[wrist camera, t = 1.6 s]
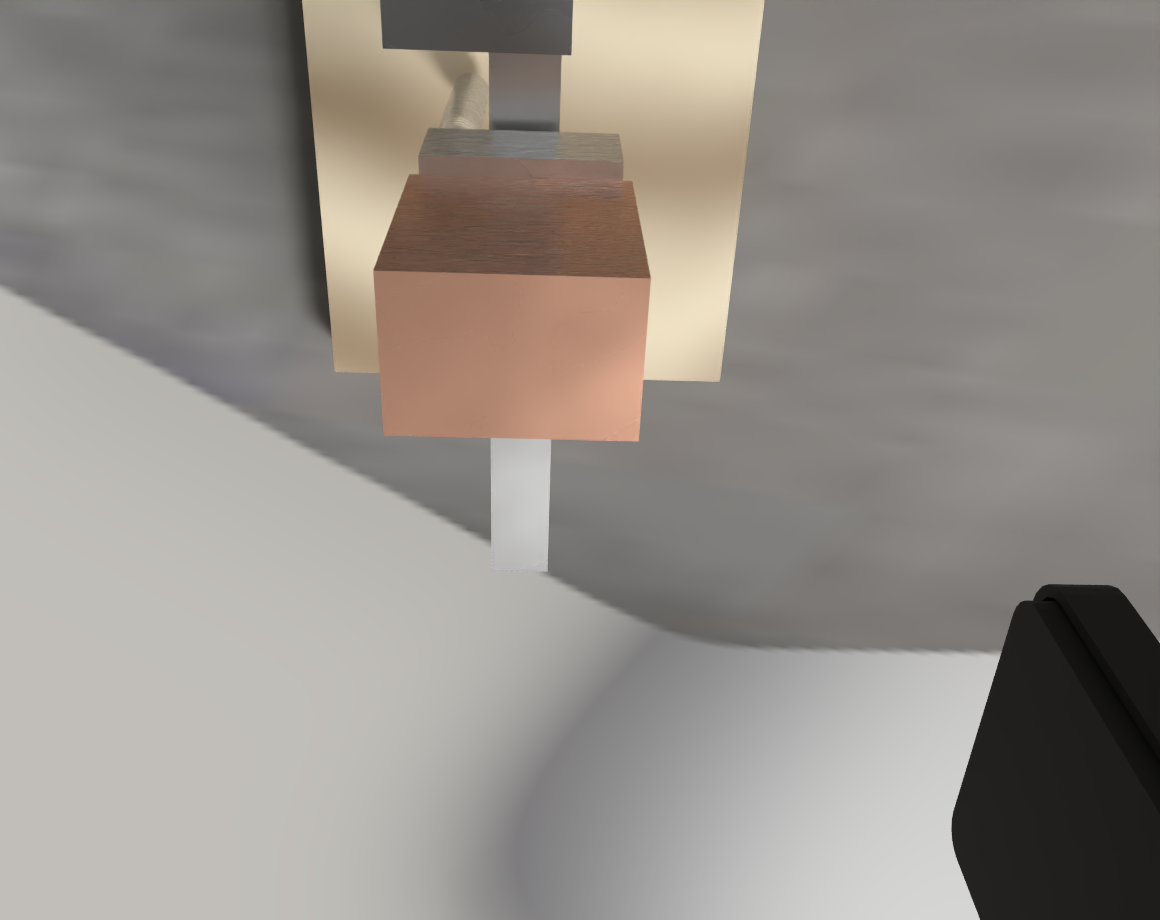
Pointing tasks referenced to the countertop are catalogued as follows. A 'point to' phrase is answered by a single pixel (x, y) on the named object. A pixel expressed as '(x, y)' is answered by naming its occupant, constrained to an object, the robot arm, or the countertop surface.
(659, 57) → the hole plate
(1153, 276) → the countertop surface
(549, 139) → the slider block
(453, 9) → the divider frame
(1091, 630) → the robot arm
